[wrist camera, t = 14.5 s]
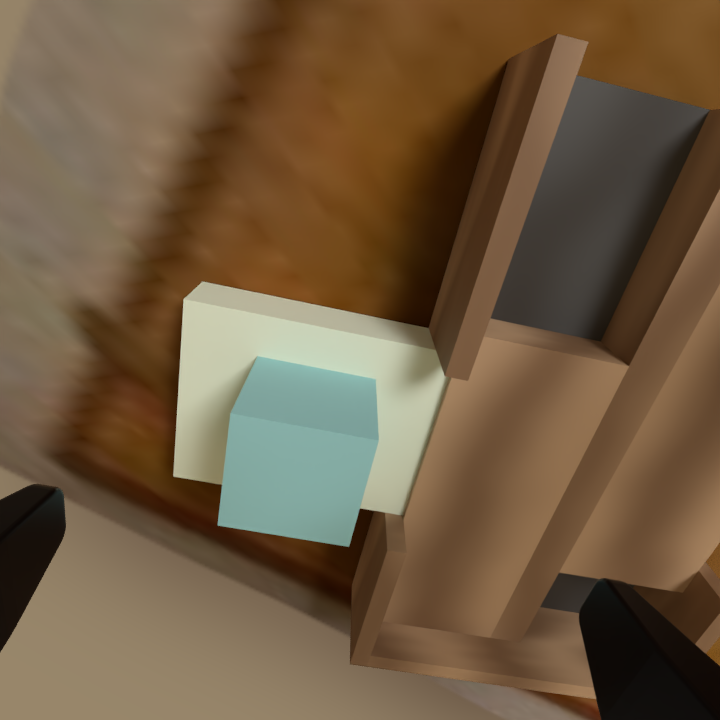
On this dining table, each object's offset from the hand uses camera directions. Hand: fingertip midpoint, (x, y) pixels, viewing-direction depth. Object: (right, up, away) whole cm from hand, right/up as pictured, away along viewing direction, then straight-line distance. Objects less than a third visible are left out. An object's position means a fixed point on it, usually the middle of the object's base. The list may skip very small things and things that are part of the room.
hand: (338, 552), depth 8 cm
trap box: (+10, +1, +13) cm, 17 cm away
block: (-2, +1, +11) cm, 11 cm away
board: (-2, +2, +13) cm, 13 cm away
